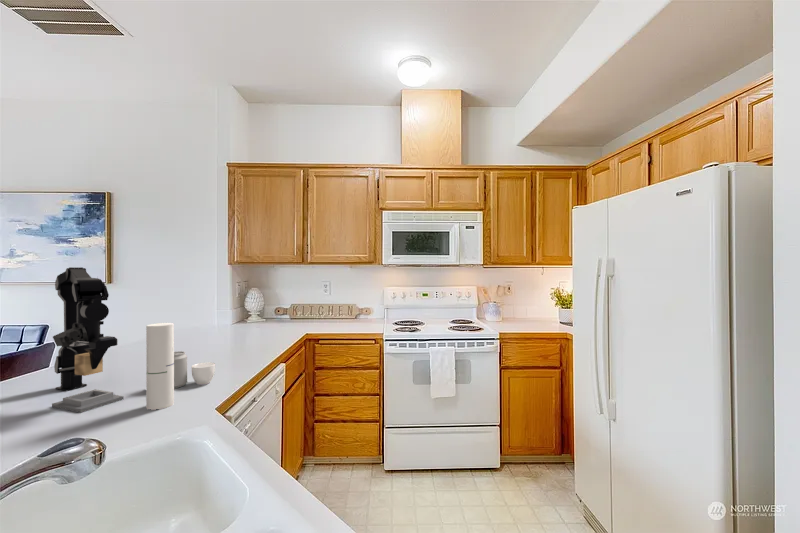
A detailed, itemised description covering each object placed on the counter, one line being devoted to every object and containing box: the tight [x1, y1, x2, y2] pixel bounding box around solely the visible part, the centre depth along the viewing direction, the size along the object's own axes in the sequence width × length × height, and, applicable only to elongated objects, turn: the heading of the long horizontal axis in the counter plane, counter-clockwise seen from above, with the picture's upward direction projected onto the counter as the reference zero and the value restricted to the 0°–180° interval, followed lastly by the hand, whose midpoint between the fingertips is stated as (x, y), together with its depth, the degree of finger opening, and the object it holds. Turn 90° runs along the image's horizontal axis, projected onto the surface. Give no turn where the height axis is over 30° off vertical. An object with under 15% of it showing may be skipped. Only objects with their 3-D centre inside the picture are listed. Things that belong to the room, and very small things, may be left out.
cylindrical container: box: [145, 322, 175, 411], centre depth 115 cm, size 7×7×25 cm
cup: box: [191, 361, 216, 386], centre depth 138 cm, size 8×10×7 cm
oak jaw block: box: [75, 353, 104, 377], centre depth 118 cm, size 5×5×6 cm
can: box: [174, 350, 188, 389], centre depth 135 cm, size 8×8×12 cm
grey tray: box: [51, 389, 124, 414], centre depth 118 cm, size 14×12×2 cm
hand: (88, 368), depth 118 cm, fingers closed on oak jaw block, 5 cm apart
